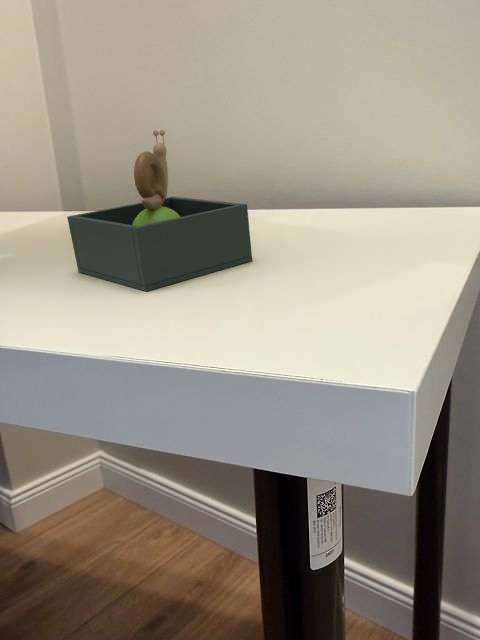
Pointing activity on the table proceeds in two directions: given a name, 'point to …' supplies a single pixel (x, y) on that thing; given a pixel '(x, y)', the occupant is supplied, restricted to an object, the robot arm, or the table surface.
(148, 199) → the snail figurine
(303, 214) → the table surface
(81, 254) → the bin
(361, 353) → the table surface
